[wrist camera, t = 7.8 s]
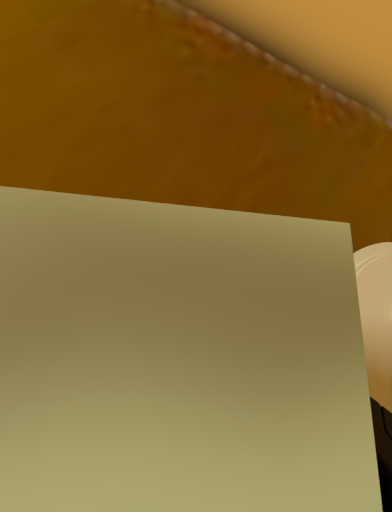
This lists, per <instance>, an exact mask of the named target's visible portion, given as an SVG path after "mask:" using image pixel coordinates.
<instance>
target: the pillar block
mask: <svg viewBox="0 0 392 512" xmlns="http://www.w3.org/2000/svg"><path fill="white" fill-rule="evenodd" d="M0 512H383V509H382V501H381V492H380V483H379V475H378V466H377V457H376V448H375V440H374V431H373V422H372V413H371V405H370V396H369V387H368V378H367V370H366V361H365V352H364V343H363V335H362V326H361V317H360V308H359V300H358V291H357V282H356V273H355V265H354V256H353V247H352V239H351V230H350V223H343V222H334V221H324V220H315V219H306V218H296V217H287V216H277V215H268V214H258V213H249V212H239V211H230V210H221V209H211V208H202V207H192V206H183V205H173V204H164V203H155V202H145V201H136V200H126V199H117V198H107V197H98V196H89V195H79V194H70V193H60V192H51V191H41V190H32V189H22V188H13V187H4V186H0Z"/></svg>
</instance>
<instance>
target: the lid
mask: <svg viewBox="0 0 392 512" xmlns="http://www.w3.org/2000/svg"><path fill="white" fill-rule="evenodd" d="M353 256H354V265H355V273H356V282H357V291H358V300H359V308H360V317H361V326H362V335H363V343H364V352H365V361H366V370H367V378H368V387H369V396H371V397H372V398H373V399H374V400H376V401H377V402H378V403H379V404H380V405H381V406H383V407H385V408H386V409H387V410H389V411H390V412H391V413H392V242H385V243H378V244H374V245H371V246H368V247H365V248H363V249H360V250H358V251H356V252H355V253H353Z"/></svg>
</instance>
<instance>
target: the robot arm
mask: <svg viewBox="0 0 392 512" xmlns="http://www.w3.org/2000/svg"><path fill="white" fill-rule="evenodd" d="M370 405H371V413H372V422H373V431H374V440H375V448H376V457H377V466H378V475H379V483H380V492H381V501H382V509H383V512H392V413H391V412H390V411H389V410H387V409H386V408H385V407H383V406H381V405H380V404H379V403H378V402H377V401H376V400H374V399H373V398H372V397H371V396H370Z"/></svg>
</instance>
